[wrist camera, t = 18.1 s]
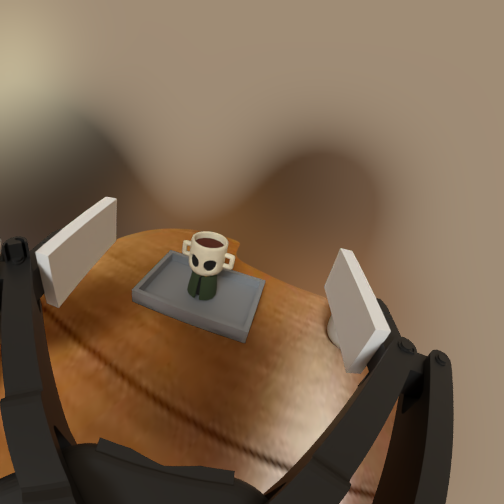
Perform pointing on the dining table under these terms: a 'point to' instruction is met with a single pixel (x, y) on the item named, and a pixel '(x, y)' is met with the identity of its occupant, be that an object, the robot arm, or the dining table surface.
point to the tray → (192, 309)
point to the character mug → (206, 262)
